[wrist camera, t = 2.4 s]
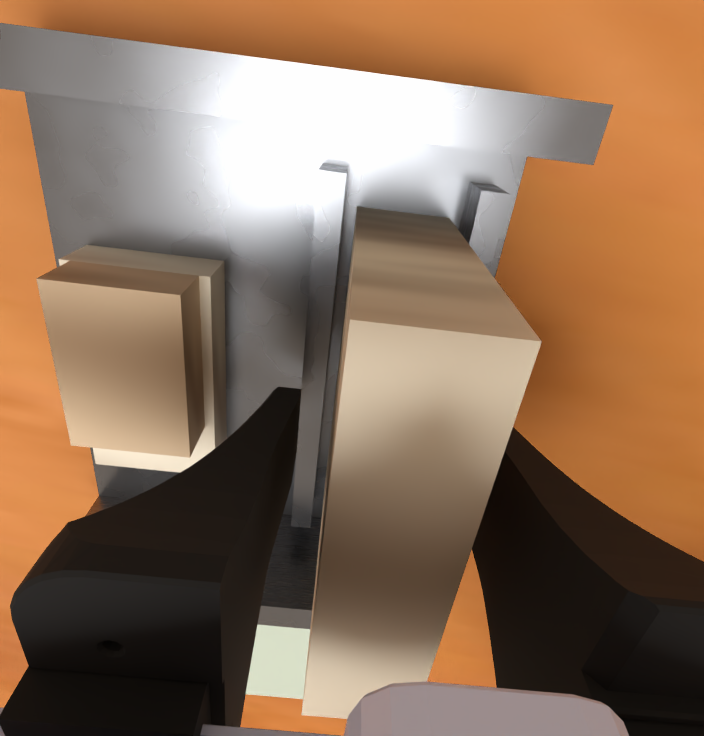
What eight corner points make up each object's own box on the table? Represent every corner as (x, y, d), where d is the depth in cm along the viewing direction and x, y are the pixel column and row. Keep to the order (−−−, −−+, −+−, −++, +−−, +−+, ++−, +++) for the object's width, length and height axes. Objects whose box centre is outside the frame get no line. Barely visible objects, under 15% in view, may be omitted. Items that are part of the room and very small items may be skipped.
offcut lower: (226, 448, 18) (215, 476, 16) (115, 436, 17) (95, 464, 16) (224, 260, 14) (210, 276, 13) (87, 244, 14) (58, 259, 13)
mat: (350, 695, 27) (350, 703, 27) (171, 679, 27) (168, 687, 26) (381, 547, 21) (381, 555, 21) (153, 525, 21) (149, 532, 21)
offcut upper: (205, 427, 15) (189, 457, 14) (96, 415, 15) (71, 445, 14) (199, 275, 13) (180, 295, 12) (70, 260, 13) (36, 278, 11)
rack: (420, 526, 21) (436, 640, 16) (113, 496, 20) (44, 605, 16) (528, 104, 13) (613, 105, 9) (38, 39, 13) (-137, 4, 8)
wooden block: (393, 486, 18) (412, 724, 11) (325, 479, 18) (301, 715, 11) (449, 217, 14) (541, 341, 6) (357, 206, 13) (350, 319, 6)
